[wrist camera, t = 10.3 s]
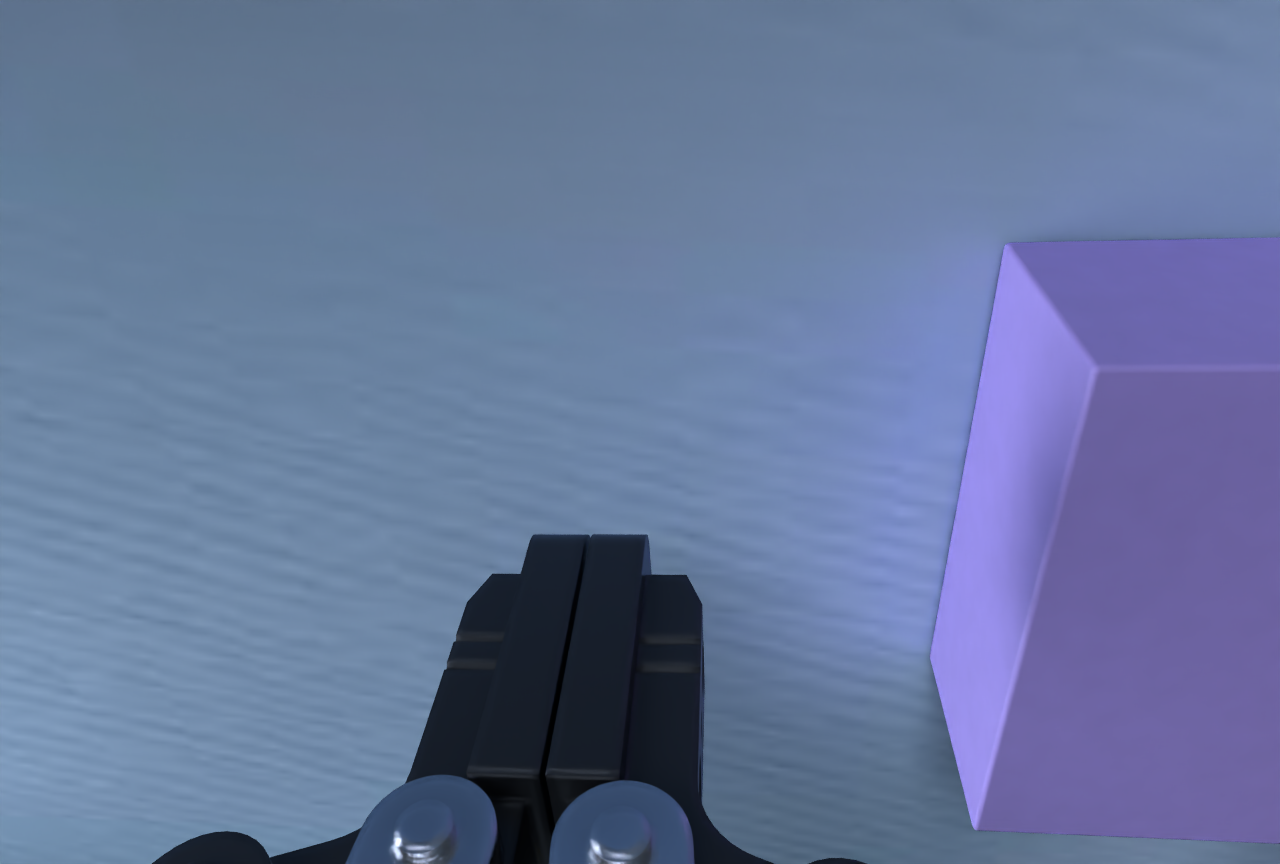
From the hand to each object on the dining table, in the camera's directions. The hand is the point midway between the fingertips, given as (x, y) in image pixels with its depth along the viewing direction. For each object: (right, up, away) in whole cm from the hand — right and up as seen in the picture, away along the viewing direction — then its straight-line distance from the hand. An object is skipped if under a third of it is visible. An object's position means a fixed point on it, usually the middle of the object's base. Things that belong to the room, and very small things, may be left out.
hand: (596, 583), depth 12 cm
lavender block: (+8, +1, +2) cm, 8 cm away
